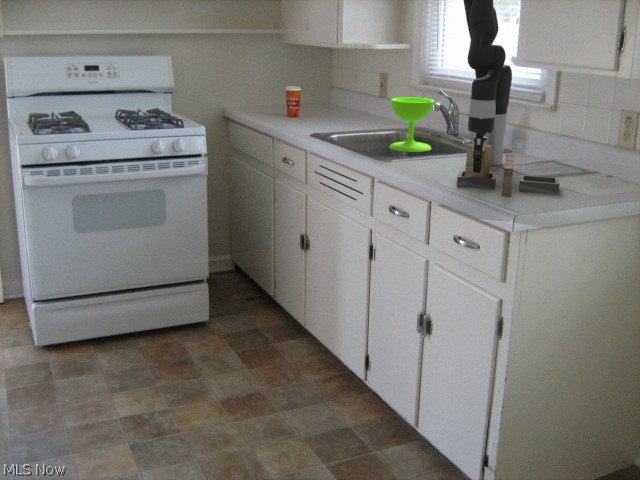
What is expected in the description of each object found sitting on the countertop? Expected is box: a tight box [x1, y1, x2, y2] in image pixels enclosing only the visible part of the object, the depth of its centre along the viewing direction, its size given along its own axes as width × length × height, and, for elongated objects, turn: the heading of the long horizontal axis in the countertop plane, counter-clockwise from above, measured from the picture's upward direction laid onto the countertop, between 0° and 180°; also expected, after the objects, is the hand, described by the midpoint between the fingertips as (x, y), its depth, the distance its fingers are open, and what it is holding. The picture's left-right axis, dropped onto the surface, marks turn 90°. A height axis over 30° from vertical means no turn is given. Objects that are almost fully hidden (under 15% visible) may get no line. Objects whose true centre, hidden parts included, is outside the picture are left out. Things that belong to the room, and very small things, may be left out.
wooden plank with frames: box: [456, 152, 560, 198], centre depth 219 cm, size 24×29×8 cm
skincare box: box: [464, 142, 492, 178], centre depth 221 cm, size 6×4×12 cm
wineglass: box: [388, 97, 435, 153], centre depth 277 cm, size 16×16×18 cm
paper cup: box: [284, 85, 302, 118], centre depth 354 cm, size 8×8×14 cm
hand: (477, 169), depth 221 cm, fingers open, 8 cm apart
